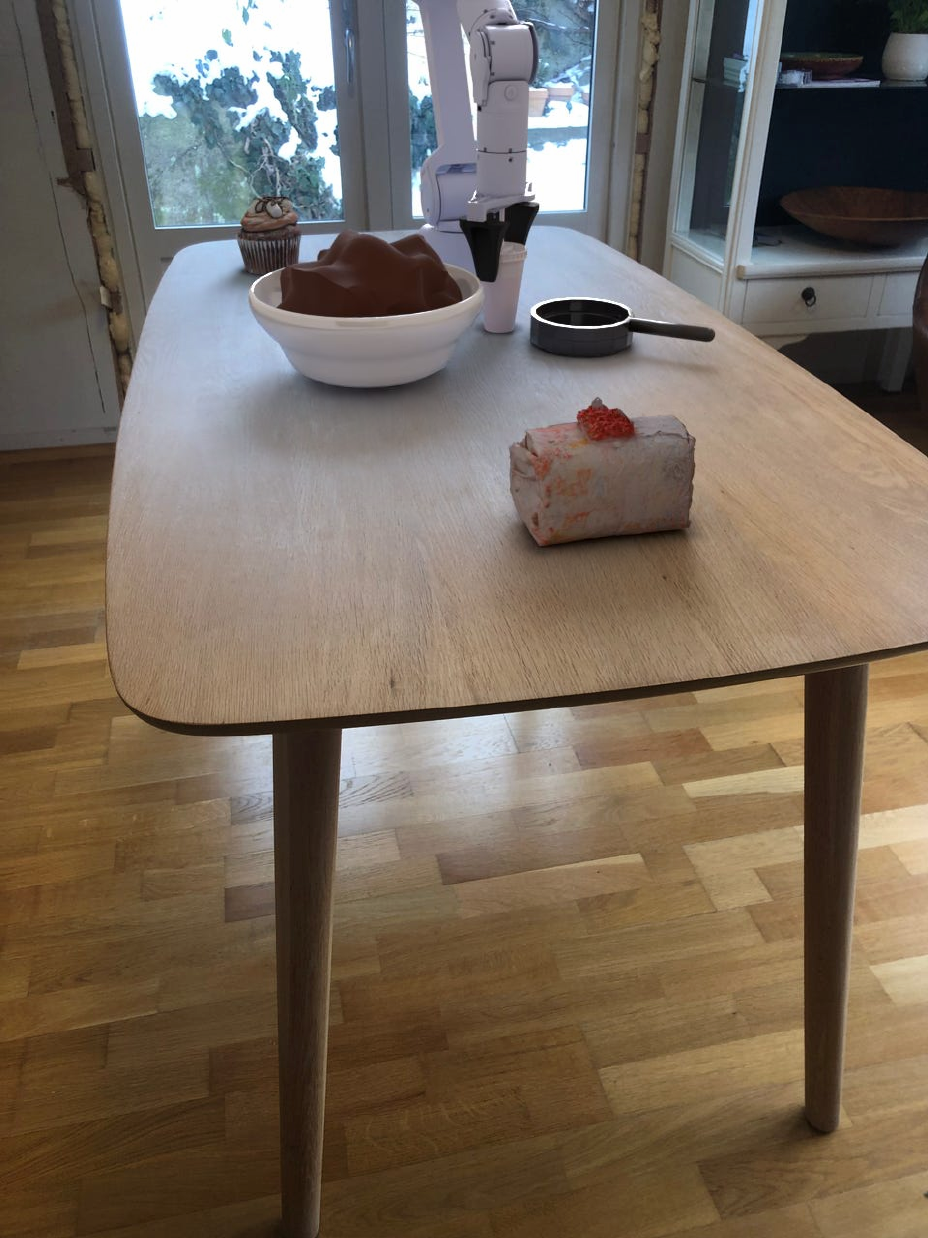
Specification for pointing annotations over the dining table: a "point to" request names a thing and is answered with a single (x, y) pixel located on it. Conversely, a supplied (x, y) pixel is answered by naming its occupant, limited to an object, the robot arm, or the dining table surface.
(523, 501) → the food item
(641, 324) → the pan handle
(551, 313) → the pan
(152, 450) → the dining table surface
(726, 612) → the dining table surface
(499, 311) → the smoothie
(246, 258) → the cupcake
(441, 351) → the bowl of chocolate mousse
